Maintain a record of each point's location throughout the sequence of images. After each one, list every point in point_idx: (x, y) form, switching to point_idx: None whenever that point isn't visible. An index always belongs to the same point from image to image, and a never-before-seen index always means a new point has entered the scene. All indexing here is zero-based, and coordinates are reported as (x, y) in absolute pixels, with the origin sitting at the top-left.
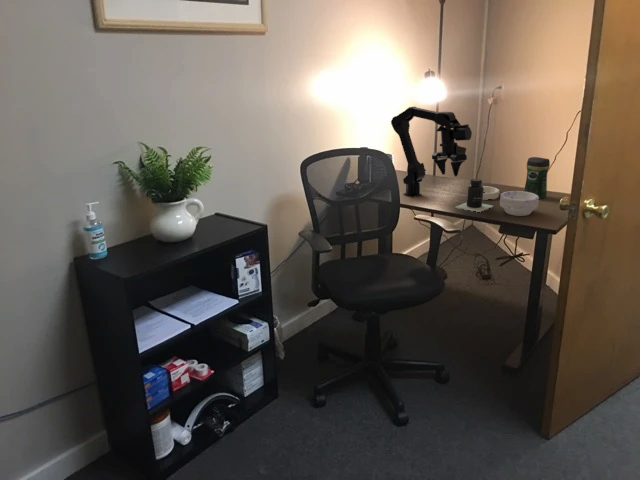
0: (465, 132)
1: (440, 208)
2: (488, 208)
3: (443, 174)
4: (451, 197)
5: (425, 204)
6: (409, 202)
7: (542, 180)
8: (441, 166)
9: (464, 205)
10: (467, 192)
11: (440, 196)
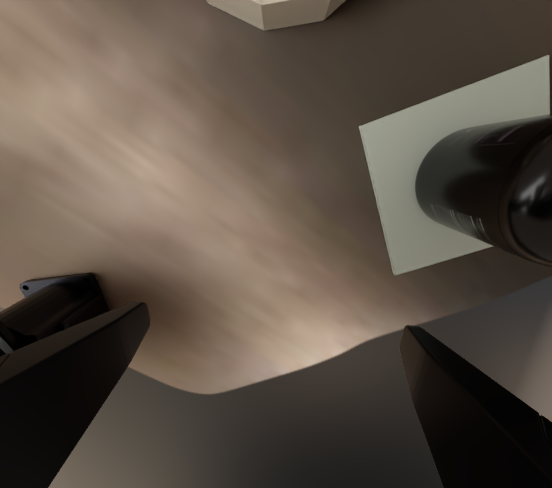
0: None
1: (355, 331)
2: None
3: (149, 319)
4: (205, 152)
5: (261, 347)
6: (197, 381)
7: None
8: (50, 439)
9: (410, 218)
10: (494, 245)
11: (156, 197)
